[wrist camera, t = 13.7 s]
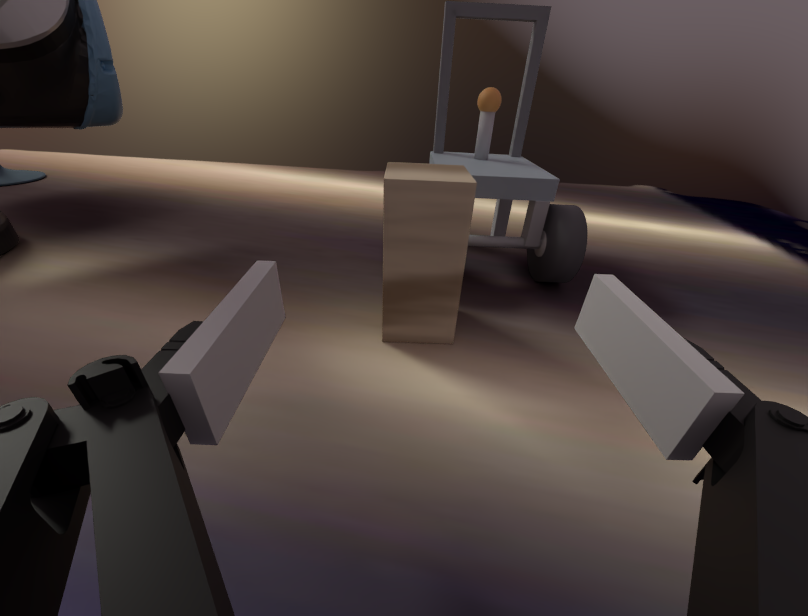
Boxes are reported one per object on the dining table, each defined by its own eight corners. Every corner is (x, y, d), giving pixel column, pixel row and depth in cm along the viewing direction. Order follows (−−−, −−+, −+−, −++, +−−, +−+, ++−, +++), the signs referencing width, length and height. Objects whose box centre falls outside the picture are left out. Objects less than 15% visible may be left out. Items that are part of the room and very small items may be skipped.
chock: (453, 344, 25) (476, 182, 19) (382, 341, 24) (383, 178, 19) (446, 306, 29) (463, 165, 23) (385, 304, 29) (387, 162, 23)
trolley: (572, 296, 31) (689, -41, 19) (400, 289, 31) (415, -55, 19) (524, 236, 44) (578, 10, 32) (403, 230, 43) (412, 2, 32)
